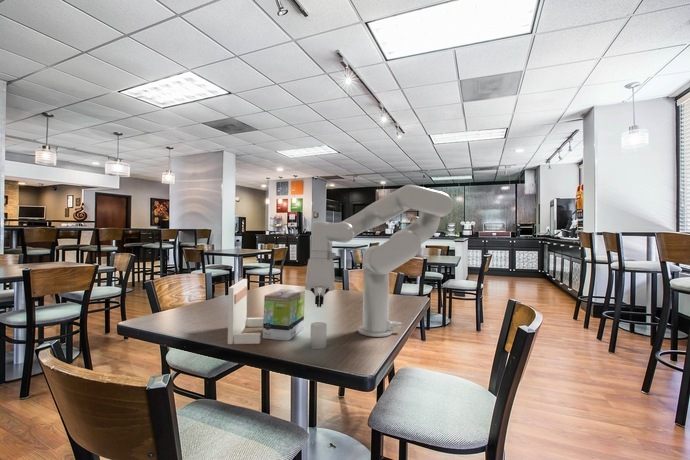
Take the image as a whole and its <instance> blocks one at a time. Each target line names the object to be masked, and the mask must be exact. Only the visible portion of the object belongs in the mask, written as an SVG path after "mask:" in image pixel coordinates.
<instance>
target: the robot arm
mask: <svg viewBox="0 0 690 460" xmlns="http://www.w3.org/2000/svg"><path fill="white" fill-rule="evenodd" d="M453 208H454V202H453V199H452V198H451V196H450V195H449V194H447V193H445V192H443V191H439V190H436V189H431V188H428V187H427V188H426V187H424V186H420V185H416V184H405V185H404V186H402V187H400V188H398V189H396V190H394V191H392V192H391V193H389V194H387V195H384V196H383V197H382V198H380V199H378V200H376V201H374V202H372V203H371V204H369V205H367V206H366V207H364V208H363V209H361V210H360V211H358V212H357V213H355V214H353V215H352V216H350V217H347V218H346V219H344V220H342V221H340V222H330V221H314V222H313V223H312V227H311V243H310V244H311V247H310V248H311V249H310V258H308V259H307V266H306V276H305V283H306V284H305V287H304V289H305V290H307V291H309V292H311V293H312V294H313V295H314V296H315V298H314V299H315V300H314V305H316V308H322V305H324V301H325V298H324V297H325V295H326V294H327V293H329V292H333V291H335V290H336V288H335V263H334V259H332V258H335V257H336V255H337V254H336V252H333V242H337V243H343V244H346V243H349V242H350V241H352V240H353V239H354V237H356V236H358V235H359V234H361V233H364V232H366V231H368V230H370V229H374V228H376V227H379V226H381V225H383V224H385V223H387V222H388V221H390V220H392V219H395V218H396V217H397V216H399V215H401V214H403V213H405V212H407V211H409V210H414V211H418V212H420V213H419V216H418V217H417V219H416V220H414V221H413V222H411V223H410V224H409V225H406V226H404V227H403V228H402V229H400V230H398V231H396V232H395V233H393V234H391V236H390V237H389V239H388V240H386V241H385V242H383V243H382V244H380V245H372V246H369V247H368V248H367V249H366V250H365V251H364V253H363V255H362V261H361V262H362V276H363V277H362V278H363V279H362V281H363V282H362V286H363V287H362V325H360V326H359V327H358V329H357V331H358V333H359V334H361V335H363V336H366V337H374V338H383V337H388V336H391V335H392V334H393V333H394V330H393V329H394V328H397V329H398V328H399V329H400V328H401V329H402V328H403V327H402V326H403V323H402V321H396V320H392V321H391V320H390V317H389V316H390V314H389V313H390V274H389V273H391V272H392V271H394V270H395V269H397V268H399V267H401V266H403V265H404V264H405V263H407V262H408V261H410V260H411V259H413V258H415V257H416V256H417V255H418V253H419V252H420V250H421V248H422V245H423V243H425V242H426V241H428V240H430V238H431V239H432V237H433V236H434V235H435V234H436V233H437V231H438V229H439V227H440V226H439V225H440V222H441V218H442V217H446V216H448V215H449V214H450V213H451V212H452V211H453ZM318 288H321V290H320V291H321V292H320V293H319V291H318Z"/></svg>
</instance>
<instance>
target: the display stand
mask: <svg viewBox="0 0 690 460" xmlns="http://www.w3.org/2000/svg"><path fill="white" fill-rule="evenodd" d="M227 302H228V306H227V308H228V309H227V310H228V314H227V345H233V344H234V345H246V344H247V345H248V344H249V345H252V344H253V345H254V344H255V345H258V344H261V332H243V331H244V330H245V328H246V327H250V328H251V327H256V328H257V327H258V328H260V327H262V328H263V318H264V317H247V315H248V312H247V310H248V307H247V306H248V304H247V303H248V278H242V279H241V280H239V281H238V282H236V283H234V284H232V285H231V286H229V287H228V301H227Z"/></svg>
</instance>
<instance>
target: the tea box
mask: <svg viewBox="0 0 690 460" xmlns="http://www.w3.org/2000/svg"><path fill="white" fill-rule="evenodd" d="M305 294H306V293H305V290H301V289H300V290H297V289H285V288H284V289H283V288H282V289H279V290H275V291H273V292H271V293H268V294H265V295H264V298H263V299H264V301H263V317H262V318H263V327H262V339H267V340H275V341H277V340H278V341H290V340H291V339H292V338H293V337H295V336H296V335H297V334H299V333H300V332H301V331H302V330H304V328H305V302H306V301H305V299H306V297H305V296H306V295H305Z"/></svg>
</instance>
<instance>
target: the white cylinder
mask: <svg viewBox="0 0 690 460" xmlns="http://www.w3.org/2000/svg"><path fill="white" fill-rule="evenodd" d="M327 326H328V325H327V323H326V322H321V321H318V322H317V321H316V322H315V321H314V322H312V323H311V324H310V348H311V349H315V350H322V349H325V348H327Z"/></svg>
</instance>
